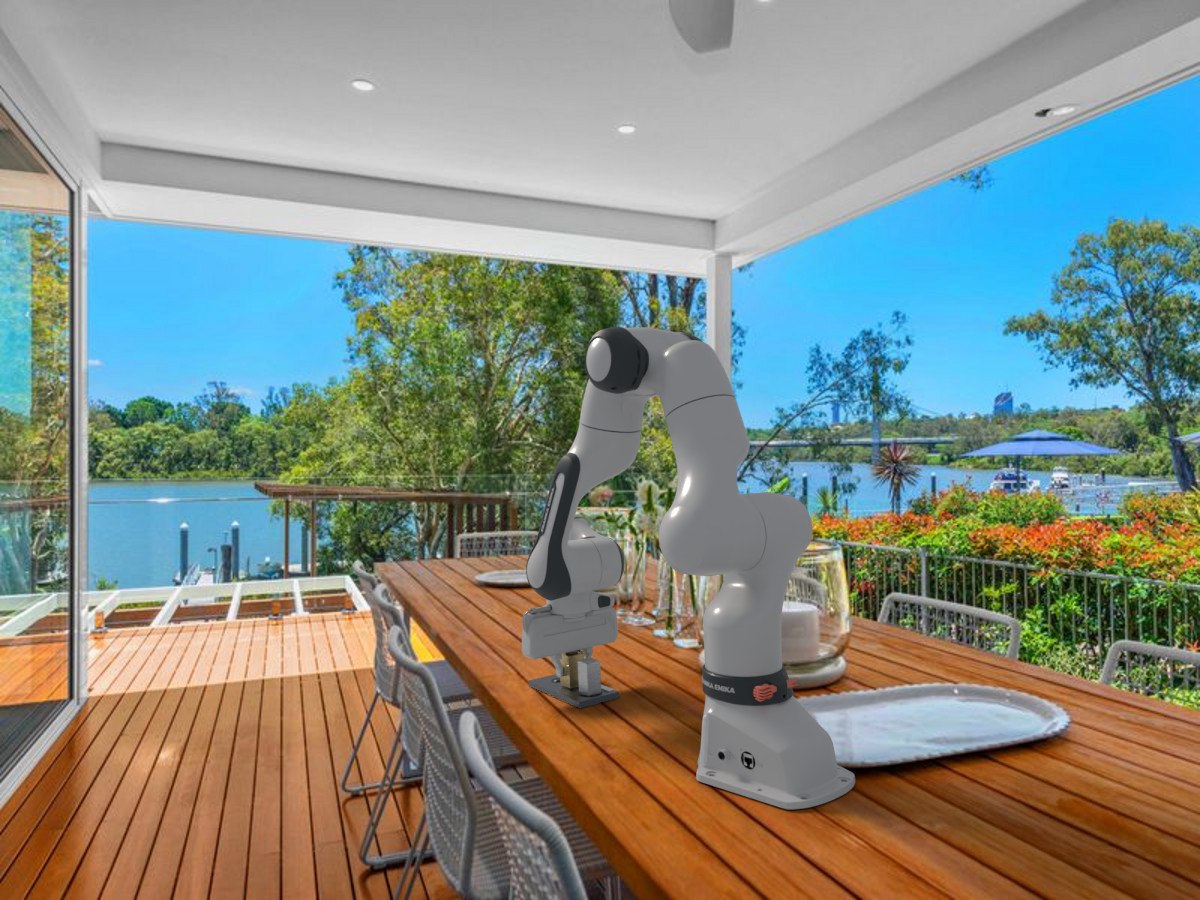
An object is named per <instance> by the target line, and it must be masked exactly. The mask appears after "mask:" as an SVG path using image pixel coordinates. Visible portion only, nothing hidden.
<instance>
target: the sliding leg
mask: <svg viewBox="0 0 1200 900" xmlns="http://www.w3.org/2000/svg"><path fill="white" fill-rule="evenodd" d="M583 659H584V653H583V652H582V651H580V652H579V651H578V650H576V651H571V652H567V653H562V659H559V660H560V662H561V664H562V665H563V666H566V667H567V671H566V672H567V676H563V677H560V684H561V685H563V686H566V687H568V688H574V687H578V686H579V680H578V661H579V660H583Z"/></svg>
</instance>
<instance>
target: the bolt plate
mask: <svg viewBox="0 0 1200 900" xmlns="http://www.w3.org/2000/svg"><path fill="white" fill-rule="evenodd" d="M601 672H602V670H601V660H599V659H596V658H593V657H591V658H587V659H583V660H579V661H578V680H579V686H578V687H574V688H568V687H566V686H563V685H561V684H560V677H558V676H557V675H556V673H554V674H551V675H547V676H541V677H537V678H534V679H529V680H528V687H529V686H531V687H533V688H535V689H534V690H536V689H537V690H536V691H538V690H540V691H542V692H545V693H547V694H550V695H552V696H554V697H556V698H558V699H560V700H559V701H561V700H563V701H565V702H567V703H569V704H568V705H570V704H571V706H572V705H573V706H572V707H574V706H575V708H576V707H578V708H577V709H579V708H580V709H583V708H587V707H590V706H594V705H595V706H596V705H599V704H602V703H601V702H603V703H606V702H610V701H613V699H614V700H617V699H620V691H619V690H616V689H614V688H611V687H609V686H606V685H604V684H602V679H601V678H602V673H601ZM531 687H530V688H531ZM533 688H532V689H533ZM540 691H539V692H540ZM542 692H541V693H542ZM545 693H544V694H545ZM547 694H546V695H547ZM554 697H553V698H554ZM556 698H555V699H556ZM558 699H557V700H558ZM609 700H610V701H609ZM563 701H562V702H563ZM605 701H606V702H605ZM565 702H564V703H565ZM567 703H566V704H567ZM598 703H599V704H598Z"/></svg>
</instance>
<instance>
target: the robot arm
mask: <svg viewBox="0 0 1200 900" xmlns="http://www.w3.org/2000/svg"><path fill="white" fill-rule="evenodd" d="M584 367H585V371H586V372H585V373H586V375H587V377H588V381H587V384H586V387H585V390H584V394H583V398H582V403H581V409H580V417H579V423H578V424H579V425H578V429H577V433H576V436H575V438H574V440H573V443H572V445H571V446H570V448H569V450H568V452H567V453H566V454H565V455H563V456H562V457H561V458H560V459H559V460H558V463H557V465H556V467H555V470H554V473H553V477H552V480H551V483H550V487H549V489H548V490H549V491H548V494H547V498H546V502H545V506H544V509H543V514H542V516H541V520H540V524H539V528H538V532H537V536H536V538H535V540H534V544H533V546H532V548H531V550H530V553H529V556H528V558H527V561H526V567H525V573H526V579H527V583H528V585H529V586H530V587H531V589H532V590H533V591H534V592H535V593H536V594H537V595H538V596H540V597H542V598H543V599H545V602H546V603H545V604H546V605H542V606H539V607H531V608H529V609H528V610H527V611H526V612H525V613H524V614H523V615H522V618H521V623H522V624H521V625H522V634H521V636H522V637H521V653H522V655H523V656H525V657H526V658H527V659H531V660H540V659H544V658H549V660H550V661H551V662H552V664H553V665H554V666H553V667H555V674H556V675H557V676H558V677H563V676H567V672H566V671H567V667H566V666H563V665H562V664H561V662H560V660H559V659H562V653H567V652H571V651H576V650H580V649H581V650H580V652H582V653H584V659H587V658H592V656H593V654H594V648H595V647H597V646H602V645H607V644H612V643H614V642H616V640H617V638H618V637H619V623H618V617H617V615H618V614H617V612H616V610H615V609H614V605H615V597H614V596H613V595H611V594H608V593H603V592H599V590H603V589H609V588H611V587H614V586H616V585H618V583H619V582H620V581H621V579H622V577H623V576H624V572H625V570H624V569H625V555H624V553H623V549H622V548H621V546H620V544H618V543H617V541H616V540H614V539H613V538H612V537H608V536H607V537H606V536H604V535H602V534H600V533H598V532H596V531H595V530H593V529H592V528H591V527H590V526H589V523H588V521H587V520H586V519H585V518H584V517H580V516H576V512H577V510H578V506H579V504H580V503H581V501H582V498H584V496H585V495H587V493H588V492H589V491H591V490H592V489H594V488H595V487H596V486H599V485H600V484H603V483H604V482H605V481H608V480H610V479H613V478H614V477H617V476H618V475H620V474H622V473H623V472H625V471H626V470H627V469H628V468H629V467H630V466H631V465H632V464H633V463H634V461H635V460H636V457H637V455H638V452H639V450H640V445H641V438H642V430H643V429H642V428H643V420H644V410H645V405H646V404H647V402H648V400H649V399H651V398H652V397H658V398H659V401H660V404H661V408H662V412H663V414H664V418H665V423H666V425H667V429H668V434H669V438H670V440H671V445H672V448H673V454H674V456H675V457H674V458H675V461H676V469H677V484H676V485H677V487H676V492H675V496H674V499H673V502H672V503H671V506H670V508H669V509H668V510H667V511H666V512H665V514H664V516H663V518H662V520H661V523H660V525H659V530H658V543H659V548H660V550H661V554H662V556H663V558H664V560H665V561H666V562H667V564H668V565H669V566H670V567H671V568H672V570H674V571H675V572H677V573H679V574H683V575H689V576H699V577H713V576H720V575H724V579H723V582H722V584H721V586H720V590H719V591H718V593H717V594H716V596H715V597H714V598H713V599H712V601H710V602H709V603H708V605H707V607H706V608H705V610H704V613H703V617H702V618H703V619H702V624H703V625H702V626H703V627H702V628H703V650H704V652H703V653H704V664H703V665H702V666H701V667H702V670H701V672H702V674H701V682H702V691H703V693H704V694H705V697H704V698H705V699H704V700H705V701H704V709H703V714H702V724H701V735H700V736H701V737H700V738H701V739H700V740H701V741H700V749H699V754H698V758H697V766H698V767H697V769H696V776H695V778H696V780H697V781H698V782H700V783H703V784H707V785H709V786H711V787H712V786H713V787H716V788H719V789H722V790H725V791H728V792H731V793H734V794H737V795H740V796H743V797H746V798H749V799H753V800H756V801H758V802H761V803H766V804H768V805H771V806H775V807H778V808H781V809H784V810H800V809H808V808H812V807H816V806H820V805H823V804H826V803H829V802H831V801H833V800H835V799H838V798H840V797H841V796H844V795H846V794H847V793H848V792H850V791H851V790H852V789H853V788H854V786H855V784H856V776H855V773H853V772H852V771H850V770H848V769H846V768H844V767H843V766H841V765H839V764H838V763H837V757H836V751H835V746H834V743H833V740H832V738H831V735H830V733H829V732H828V731H827V730H825V728H824V727H823V726H822V725H821V724H820V723H819V722H818V721H817V720H816V719H815V718H814V717H813V716H812V715H811V714H810V713H809V711H807V710H806V708H805V707H804V706H803V705H802V703H800V702H799V701H798V699H797V698H796V697H795V696H794V690H793V688H794V687H796V686H799V683H795V682H797V681H798V680H799V677H793V678H790V677H789V674H788V673H787V669H786V667H785V665H784V664H783V651H782V647H783V646H782V645H783V644H782V643H783V641H782V618H783V617H782V614H783V609H784V608H783V606H784V601H785V596H786V592H787V589H788V586H789V582H790V578H791V576H792V573H793V570H794V568H795V567H796V564H797V562H798V561H799V559H800V558H801V556H802V555H803V554H804V553H805V551H806V550H807V549H808V547H809V545H810V543H811V541H812V539H813V538H812V537H813V522H812V518H811V515H810V513H809V511H808V509H807V507H806V506H805V504H804V503H803V502H801V501H800V500H799V499H797V498H796V497H794V496H792V495H791V496H790V495H786V494H781V493H777V492H776V493H775V492H770V491H769V492H768V491H764V492H763V491H762V492H753V493H740V490H739V486H738V468H739V466H740V465H741V464H743V462H744V460H745V459H746V458H747V457H748V455H749V452H750V447H751V446H750V445H751V444H750V439H749V436H748V433H747V430H746V427H745V424H744V421H743V417H742V414H741V410H740V408H739V404H738V401H737V399H736V395H735V392H734V390H733V386H732V385H731V382H730V379H729V377H728V374H727V373H726V370H725V368H724V366H723V365H722V362H721V360H720V358H719V356H718V355H717V353H716V352H715V350H714V349H713V347H712V346H710V345H709V344H708V343H707V342H704V340H702V339H700V338H699V337H698V336H695V335H693V334H691V333H688V332H683V331H677V332H676V331H670V330H665V329H659V328H654V327H645V326H644V327H643V326H640V327H638V326H635V327H634V326H633V327H623V326H612V327H607V328H604V329H601V330H598V331H597V332H595V333H594V334H593V335H592V337H591V338H590V339H589V342H588V344H587V346H586V349H585V353H584Z"/></svg>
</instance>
